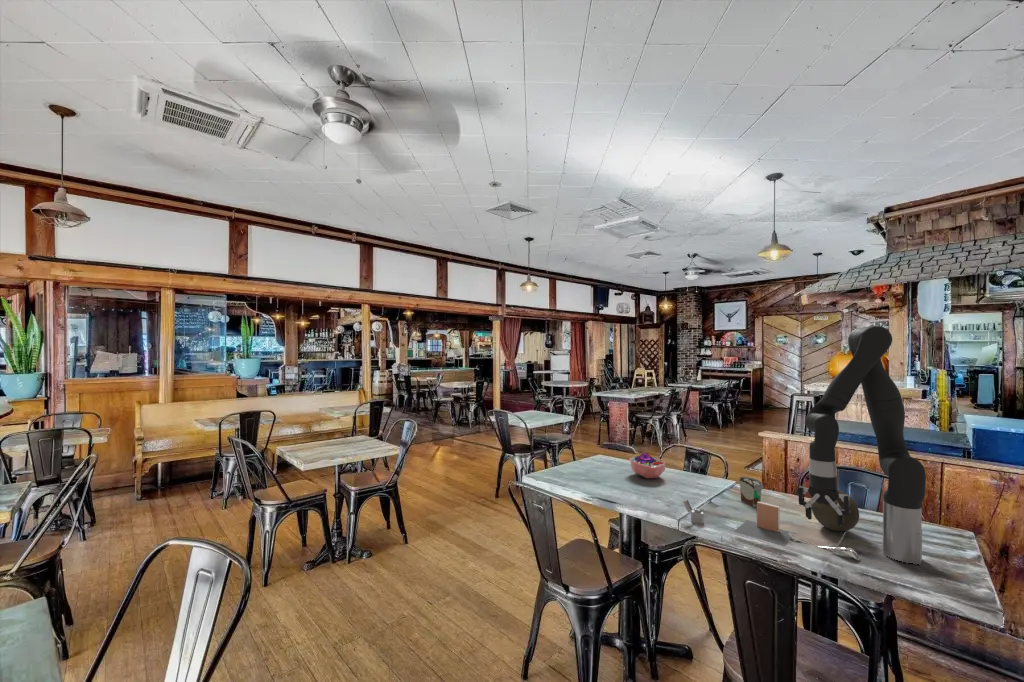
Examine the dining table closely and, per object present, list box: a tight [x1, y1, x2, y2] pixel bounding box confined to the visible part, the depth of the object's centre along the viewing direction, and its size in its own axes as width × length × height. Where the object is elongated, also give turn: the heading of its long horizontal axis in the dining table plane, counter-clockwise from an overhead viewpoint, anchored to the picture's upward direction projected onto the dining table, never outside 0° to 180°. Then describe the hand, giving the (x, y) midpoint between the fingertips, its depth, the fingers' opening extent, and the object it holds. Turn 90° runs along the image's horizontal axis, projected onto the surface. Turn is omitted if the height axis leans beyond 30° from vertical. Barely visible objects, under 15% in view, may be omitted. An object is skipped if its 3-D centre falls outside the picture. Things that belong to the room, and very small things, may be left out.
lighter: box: [682, 499, 705, 525], centre depth 166 cm, size 7×2×8 cm, turn 53°
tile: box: [756, 501, 780, 532], centre depth 159 cm, size 7×2×9 cm, turn 44°
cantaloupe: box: [811, 489, 860, 532], centre depth 159 cm, size 14×14×15 cm
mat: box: [734, 519, 796, 547], centre depth 157 cm, size 16×14×1 cm
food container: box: [738, 476, 764, 508], centre depth 185 cm, size 12×6×10 cm, turn 0°
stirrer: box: [788, 532, 860, 561], centre depth 145 cm, size 20×4×5 cm
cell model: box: [629, 452, 666, 479], centre depth 221 cm, size 17×20×11 cm
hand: (824, 522), depth 145 cm, fingers open, 7 cm apart
